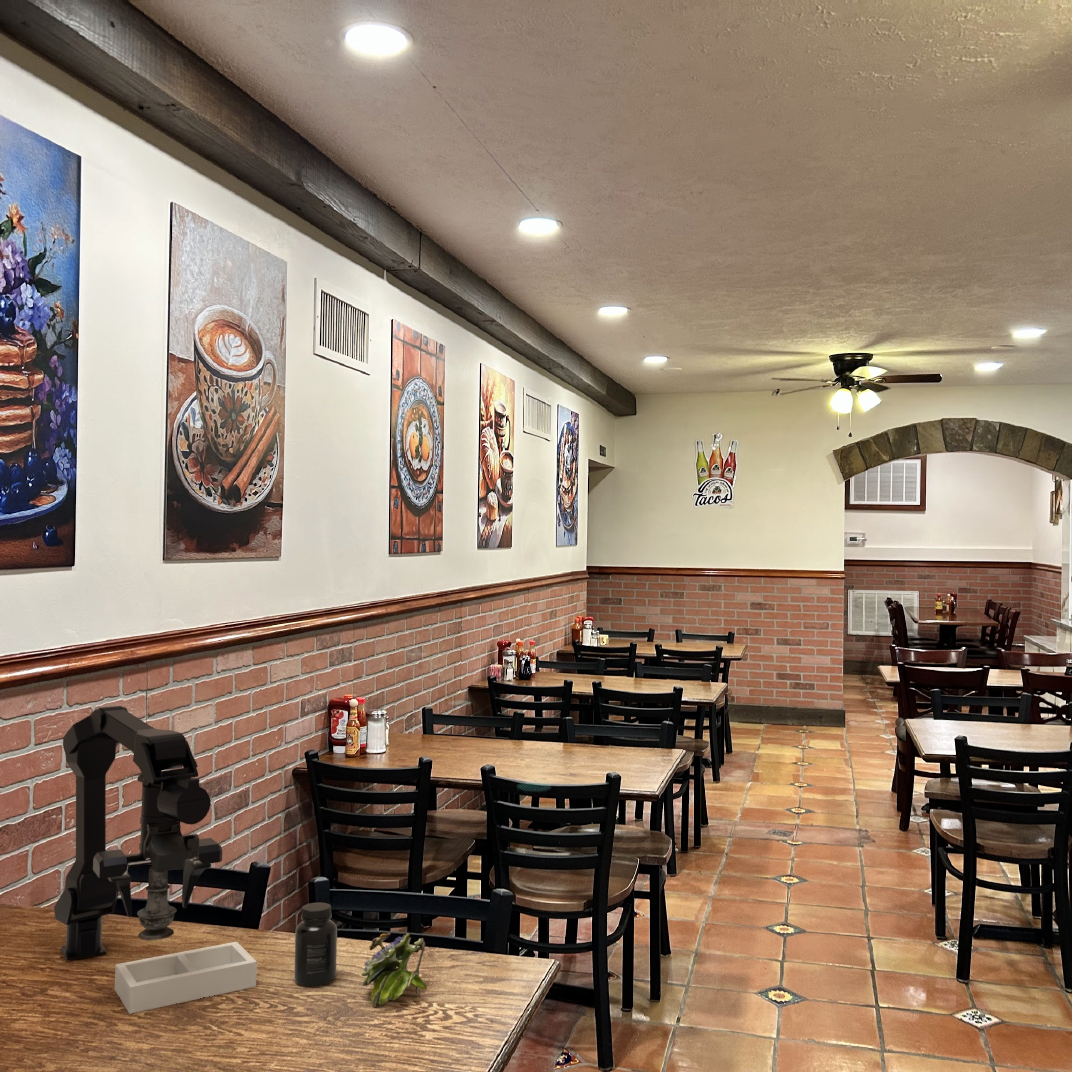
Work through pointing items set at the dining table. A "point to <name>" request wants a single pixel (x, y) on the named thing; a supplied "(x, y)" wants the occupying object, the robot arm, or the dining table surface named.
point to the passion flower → (392, 968)
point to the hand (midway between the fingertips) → (157, 911)
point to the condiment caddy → (184, 976)
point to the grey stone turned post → (156, 908)
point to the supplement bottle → (315, 946)
